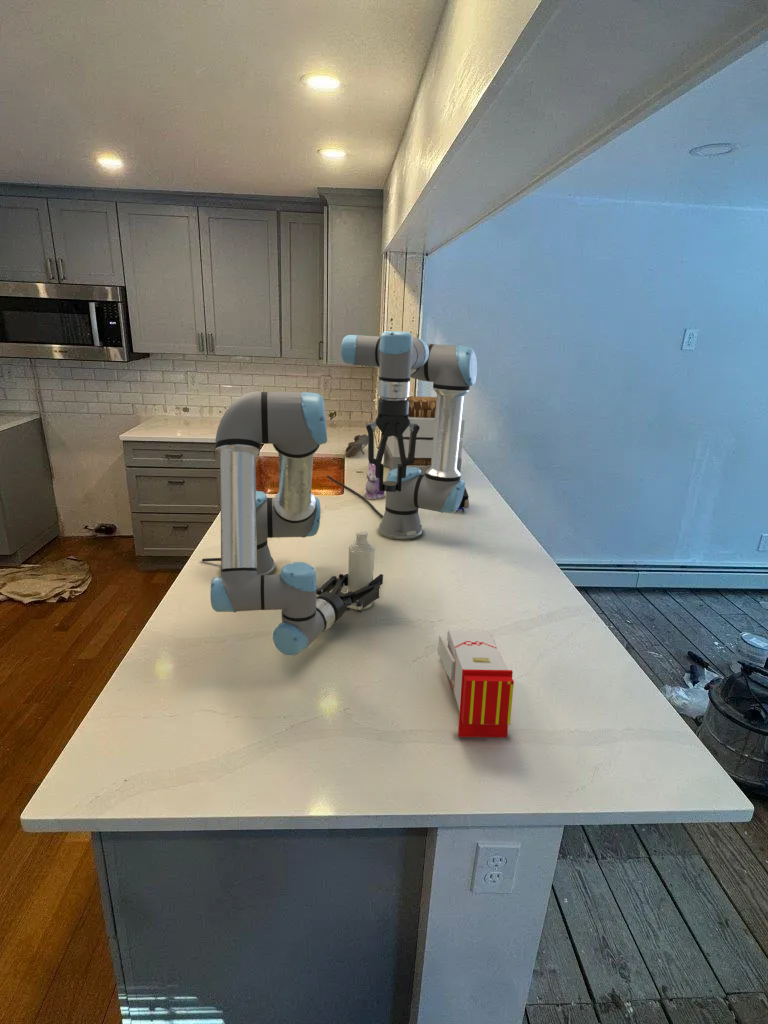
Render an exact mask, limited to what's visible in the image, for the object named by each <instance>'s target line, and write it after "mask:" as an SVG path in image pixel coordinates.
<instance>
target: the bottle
mask: <svg viewBox="0 0 768 1024" xmlns="http://www.w3.org/2000/svg"><path fill="white" fill-rule="evenodd" d="M355 535H356V539H355V540H354V541H353V542H352V543H350V545H349V546H348V556H347V558H348V560H347V563H348V564H347V574H348V586H347V592H350V591H352V592H355V591H357V590H360V589H362V588H365V587H368V586H369V583H370V582H371V581H373V580H374V569H375V568H374V567H375V547H374V545H373V544H372V543H371V542H370V541H368V536H369V532H367V531H366V530H358V531H356V534H355ZM372 605H373V602H372V603H371V604H369V605H368V606H366V607H365V608H363V610H366V609H369V608H371V607H372Z"/></svg>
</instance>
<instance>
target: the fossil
mask: <svg viewBox="0 0 768 1024" xmlns="http://www.w3.org/2000/svg"><path fill="white" fill-rule="evenodd" d="M353 440H354V441H350V442H348V444H347V445H348V446H347V447H346V449H345V453H344V455H345V457H346V458H352V457H355V456H356V455H358V454H359V453H361V452H362V454H363V455H364V454H365V453H364V451H363V450H364V449H365V447H368V434H365V433H364V434H362V435H361V434H357V435H355V436H354V437H353Z"/></svg>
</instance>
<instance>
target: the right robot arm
mask: <svg viewBox="0 0 768 1024" xmlns="http://www.w3.org/2000/svg"><path fill="white" fill-rule="evenodd" d="M340 356H341V360H342V361H343V362H344V364H347V365H353V366H362V367H371V368H376V369H379V372H378V373H379V374H378V375H379V376H378V394H377V395H378V397H379V398H378V400H377V416H376V418H375V421H372V422H366V423H365V428H366V431H367V436H368V444H367V459H368V463H370V464H372V465H373V466H374V465H375V476H376V478H379V491H383V482H384V474H385V473H384V472H385V471H384V469H385V466H384V464H383V463H382V462H383V459H384V450H385V446H386V442H387V439H388V437H390V436H395V437H397V442H398V448H399V454H400V461H401V464H398V468H397V469H393V470H391V471H390V470H389V471H388V473H387V475H386V481H394V482H397V483H398V490H397V491H395V492H386V491H385V504H384V505H385V507H384V508H385V509H384V513H383V514H382V513H381V512H379V511H378V510H377V508H375V506H374V505H373V504H372V503H371V502H370V501H369V499H367V498H365V496H363V495H361V494H360V493H358V492H357V491H355V490H354V489H352V488H350V487H349V486H347V485H345V484H343V483H342V482H340V481H338V480H336V479H335V478H333V477H331V476H330V475H327V476H326V478H328V479H329V480H331V481H332V482H334V483H335V484H336V485H339V486H341V487H342V488H344V489H346V490H348V491H349V492H351V493H353V494H354V495H356V496H357V497H359V498H360V499H362V500H363V501H364V502H365V503H366V504H367V505H369V507H370V508H371V509H372V510H373V511H374V513H376V515H378V516H379V517H380V518H381V522H379V526H378V533H379V534H380V535H381V536H382V537H385V538H387V539H389V540H395V541H410V540H415V539H418V538H420V537H421V536H422V535H423V525H422V524H421V518H420V515H419V509H420V510H427V511H433V512H438V513H441V514H443V513H444V514H454V513H456V510H457V511H458V507H459V506H460V503H461V501H462V498H463V494H464V490H465V488H466V481H464V480H463V479H461V474H460V472H459V471H458V470H457V459H458V449H459V439H461V438H460V429H461V420H462V419H463V408H464V399H465V395H467V394H468V393H469V392H470V388H471V387H472V386H474V385H475V384H476V382H477V375H478V360H477V356H476V353H475V350H474V349H473V348H472V347H470V346H464V345H459V344H458V345H455V344H454V345H451V344H438V343H437V344H436V343H435V344H434V343H426V342H425V341H424V340H423V339H421V338H418V337H413V334H412V333H411V332H409V331H401V330H387V331H386V330H385V331H383V332H381V334H380V336H374V335H360V334H347V335H346V336H344V337H343V339H342V341H341V345H340ZM411 378H412V379H414V380H417V381H423V382H430V383H432V390H434V392H435V393H436V397H437V401H436V413H435V424H434V436H433V447H432V459H431V465H430V466H429V468H427V469H426V470H425V474H422V470H421V468H419V467H416V466H407V465H409V464H413V463H414V456H415V446H416V436H417V433H418V431H419V429H420V427H419V426H418V424H414V423H411V422H410V420H409V417H408V412H409V401H408V399H407V398H408V397H409V396H410V390H411ZM408 426H409V430H410V431H411V432H410V441H409V452H408V458H407V459H406V455H405V449H404V443H403V435H402V434H403V432H404V431H405V430H406V429H407V427H408ZM376 427H377V428H378V429H379V431H380V432H381V435H380V440H379V444H378V448H377V453H376V455H375V435H374V432H375V431H376Z"/></svg>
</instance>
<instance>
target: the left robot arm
mask: <svg viewBox="0 0 768 1024" xmlns="http://www.w3.org/2000/svg"><path fill="white" fill-rule="evenodd" d="M326 419H327V418H326V409H325V400H324V397H323V396H322V395H321V394H319V393H317V392H307V391H261V390H260V391H259V390H257V391H251V392H250V391H249V392H247V393H245V394H243V395H241V396H239V397H238V398H237V399H235V400H234V401H233V402H232V403H231V404H230V405H229V406H228V408H227V409H226V410H225V412H224V414H223V415H222V417H221V419H220V421H219V424H218V426H217V430H216V435H215V440H214V441H215V453H216V454H217V456H219V457H220V459H219V461H220V464H219V465H220V468H219V470H220V474H219V475H220V476H219V477H220V557H211V558H210V557H209V558H207V557H206V558H202V559H201V561H202V562H220V575H218V576H215V577H212V579H211V582H210V591H209V593H210V606H211V608H212V610H214V611H215V612H216V613H238V612H251V611H277V610H281V622H280V623H278V625H277V626H276V627H275V628H274V630H273V632H272V642H273V644H274V646H275V648H276V649H277V650H278V651H279V652H280V653H281V654H284V655H285V656H288V657H289V656H290V657H291V656H296V655H298V654H299V653H301V652H302V651H304V650H305V649H307V648H308V647H309V646H310V645H311V644H312V643H313V642H315V640H317V639H318V638H319V637H321V635H322V634H324V633H325V632H327V630H328V629H329V628H331V627H332V626H333V625H334V624H336V623H337V622H338V621H340V619H342V617H343V616H344V615H345V613H346V612H348V611H351V610H356V613H362V612H363V610H364V609H363V608H365V607H366V606H368V605H369V604H371V603H372V604H373V602H375V601H377V600H378V599H380V589H381V586H382V585H383V583H384V574H382V573H380V574H379V575H377V576H376V577H375V578H373V581H371V582H370V583H369V586H368V587H365V588H362V589H360V590H357V591H355V592H352V591H350V592H348V591H347V592H342V590H343V588H344V587H348V573H345V574H343V573H340V574H339V575H338V577H337V576H336V575H332V576H331V577H329V579H328V580H327V581H325V582H324V584H322V585H321V586H320V587H317V574H316V573H317V572H316V570H315V568H314V566H313V565H311V564H309V563H307V562H302V561H294V562H292V563H287V564H285V565H283V566H282V568H281V570H280V572H279V573H280V574H273V573H274V571H275V561H274V558H273V556H272V554H271V551H270V547H269V545H268V539H273V538H275V539H278V538H279V539H280V538H303V539H304V538H307V537H314V536H316V535H317V534H318V532H319V529H320V524H321V511H322V509H321V501H320V499H319V498H318V497H317V496H315V495H314V494H313V492H312V483H313V467H314V454H315V453H316V452H317V451H318V450H319V448H320V446H321V445H324V444H326V443H327V442H328V431H327V422H326V421H327V420H326ZM261 444H263V445H268V444H269V445H272V446H273V448H274V449H275V451H276V452H277V453H278V492H277V493H276V494H275V497H268V496H267V494H266V492H264V491H261V490H257V477H256V475H257V474H256V470H257V468H256V457H257V456H259V454H260V453H261Z"/></svg>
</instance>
